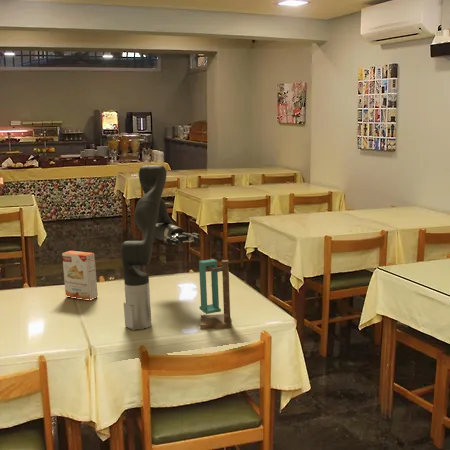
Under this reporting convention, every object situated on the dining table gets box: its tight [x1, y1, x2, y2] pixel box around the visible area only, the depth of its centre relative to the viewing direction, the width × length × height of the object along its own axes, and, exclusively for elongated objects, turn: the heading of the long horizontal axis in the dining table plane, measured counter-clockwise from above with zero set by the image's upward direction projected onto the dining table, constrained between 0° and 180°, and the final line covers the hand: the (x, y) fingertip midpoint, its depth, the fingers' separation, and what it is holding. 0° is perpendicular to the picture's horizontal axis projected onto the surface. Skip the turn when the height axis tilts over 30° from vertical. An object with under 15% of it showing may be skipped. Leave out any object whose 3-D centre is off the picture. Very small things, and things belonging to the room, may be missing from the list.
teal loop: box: [198, 258, 222, 315], centre depth 229 cm, size 6×7×20 cm
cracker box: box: [61, 250, 99, 300], centre depth 267 cm, size 14×6×21 cm, turn 62°
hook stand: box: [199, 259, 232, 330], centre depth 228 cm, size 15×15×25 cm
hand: (188, 241), depth 246 cm, fingers open, 8 cm apart
